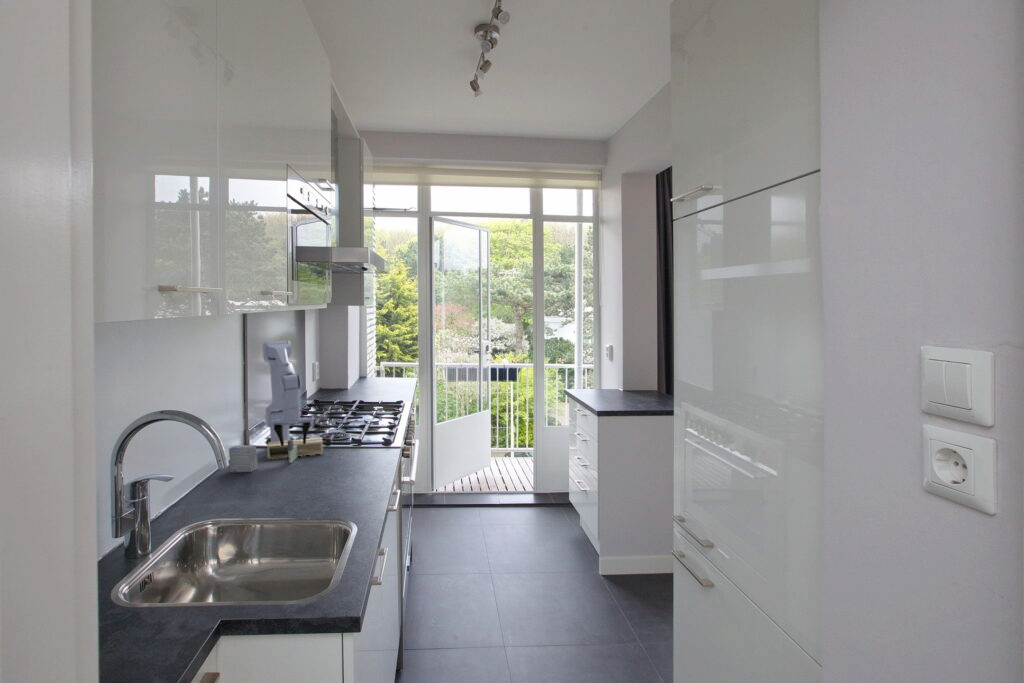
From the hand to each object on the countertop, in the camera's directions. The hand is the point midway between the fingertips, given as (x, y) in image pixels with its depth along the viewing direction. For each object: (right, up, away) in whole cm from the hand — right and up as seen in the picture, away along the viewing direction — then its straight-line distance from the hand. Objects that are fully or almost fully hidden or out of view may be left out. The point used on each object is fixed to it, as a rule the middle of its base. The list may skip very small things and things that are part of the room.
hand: (293, 444), depth 227 cm
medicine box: (-14, -8, -9) cm, 19 cm away
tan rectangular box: (-3, -6, +12) cm, 14 cm away
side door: (-1, -6, +3) cm, 7 cm away
